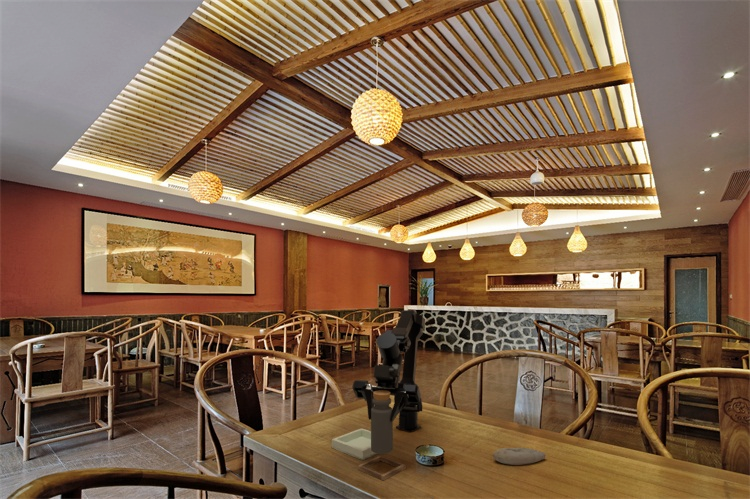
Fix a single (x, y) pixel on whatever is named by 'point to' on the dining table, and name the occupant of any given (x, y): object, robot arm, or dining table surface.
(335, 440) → the tray
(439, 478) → the dining table surface
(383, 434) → the bottle
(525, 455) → the decorative stone
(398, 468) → the seat frame
